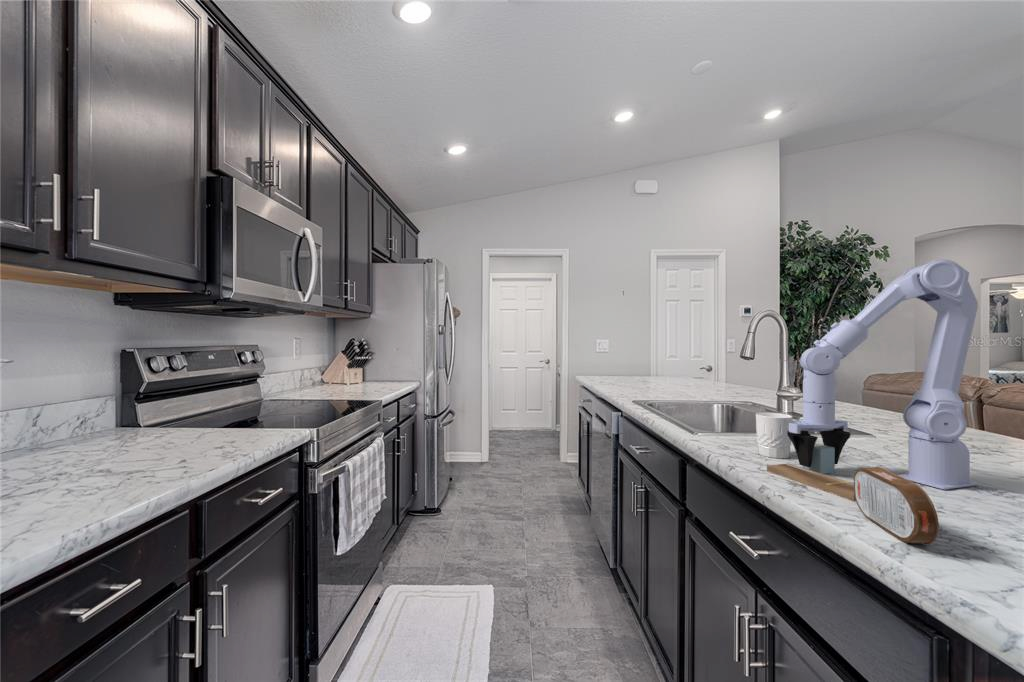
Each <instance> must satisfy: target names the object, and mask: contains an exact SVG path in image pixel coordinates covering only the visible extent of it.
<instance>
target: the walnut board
mask: <svg viewBox="0 0 1024 682" xmlns="http://www.w3.org/2000/svg"><path fill="white" fill-rule="evenodd" d="M766 471H767V472H768V471H769V473H771V472H772V474H774V473H776V474H775V475H777V474H779V475H778V476H780V475H782V476H781V477H783V476H785V477H784V478H786V477H788V478H787V479H789V478H790V479H789V480H792V479H793V480H792V481H794V480H796V481H795V482H797V481H798V482H797V483H801V484H803V485H807V486H810V487H812V486H813V488H815V487H816V488H815V489H818V488H819V489H818V490H821V489H822V490H821V491H824V490H825V491H824V492H827V491H828V492H827V493H830V492H831V493H830V494H832V493H834V494H833V495H835V494H837V495H836V496H838V495H839V497H841V496H842V497H841V498H844V497H845V499H847V498H848V500H851V501H853V502H856V500H855V495H854V482H850V481H847V480H844V479H840V478H838V477H834V476H831V475H829V474H821V473H818V472H815V471H811V470H808V469H805V468H803V466H802V467H801V466H799V465H796V464H795V465H794V464H792V463H791V464H790V463H780V464H778V463H777V464H769V465H766Z"/></svg>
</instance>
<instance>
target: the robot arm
mask: <svg viewBox="0 0 1024 682" xmlns="http://www.w3.org/2000/svg"><path fill="white" fill-rule="evenodd" d="M969 276H970V272H969V270H966V269H965V268H963V266H961V265H960V264H959V263H957V262H955V261H954V260H950V259H947V258H946V259H944V258H943V259H942V258H940V259H935V260H932V261H930V262H927V263H925V264H923V265H918V266H915V267H911V268H908V269H907V270H906V271H904V272H903V274H902V275H900V276H898V277H896V278H895V279H893V280H892V281H891V282H890V283H889V284H888V285H886V287H884V289H883V290H882V291H881V292H880V293H878V295H876V296H875V297H874V298H873V299H872V300H871V301H870V302H869V303H868V304H867V305H865V307H864V308H863V309H862V310H861V311H860V312H859V313H857V315H856V316H855V317H854V318H852V319H842V320H841V321H839V322H833V324H831V325H830V328H831V329H830V330H829V331H828V332H827V333H826V334H825V335H824V336H823V337H821V339H816V340H815V341H814V342H813V344H814V346H815V347H810V348H808V349H806V350H805V351H803V353H802V354H801V357H800V359H799V364H800V367H801V368H802V369H803V380H802V418H799V419H798V421H795V422H792V423H789V431H787V435H788V437H789V438H790V440H791V444H792V445H793V447H794V450H795V453H796V456H797V459H798V463H799V465H800V466H802V467H803V466H806V467H811V464H812V455H813V449H814V445H815V443H816V442H817V440H818V439H819V438H818V436H816V435H815V436H814V435H811V433H812V432H813V433H814V432H819V434H820V436H821V439H822V445H826V446H830V447H834V448H835V465H838V462H839V460H840V456H841V453H842V451H843V448H844V446H845V444H846V443H847V442H848V441H849V439H850V438H851V432H849V431H848V429H849V428H848V427H849V425H848V421H846V420H843V419H842V420H840V419H836V382H835V376H836V375H835V371H836V370H838V369H839V367H840V364H841V360H844V359H845V358H846V357H847V356H848V355H849V354H851V353H852V352H853V351H855V350H856V349H857V348H858V347H859V346H860V345H861V344H862V343H863V342H864V341H866V340H867V339H868V338H869V337H868V335H869V334H868V333H869V332H868V331H869V330H868V329H870V327H872V326H873V325H874V324H876V323H877V322H879V320H881V318H883V317H884V316H885V315H886V314H888V313H889V312H890V311H891V310H893V309H894V308H896V307H897V306H898V305H899V304H900V303H902V302H903V301H907V300H911V299H914V298H916V299H918V300H920V301H923V302H925V303H926V304H927V305H928V306H930V308H932V309H933V310H935V311H936V312H937V314H936V319H935V323H934V328H933V332H932V337H931V342H930V346H929V350H928V354H927V359H926V365H925V367H924V372H923V376H922V382H921V385H920V388H919V389H917V391H916V392H915V393H913V395H912V398H911V401H910V402H909V404H908V405H907V406H906V407H905V408H904V411H903V414H902V419H903V421H904V423H905V424H906V425H907V426H908V428H909V431H908V460H907V461H908V473H904V474H903V473H902V474H897V475H898V476H900V477H903V478H905V479H907V480H909V481H911V482H914V483H916V484H917V483H918V484H922V485H925V486H929V487H933V488H937V489H940V490H951V489H959V488H966V487H972V486H977V483H976V482H973V481H970V478H971V477H970V476H971V475H970V473H971V472H970V471H971V470H970V469H971V465H970V464H971V462H970V461H971V460H970V458H971V454H970V450H969V448H968V446H967V445H966V444H965V443H964V442H963V441H961V440H960V439H959V438H961V436H962V435H964V433H966V430H967V426H968V424H967V421H966V420H967V419H966V418H965V415H964V410H965V404H964V402H963V400H962V399H961V397H960V395H959V391H960V390H959V389H960V385H961V381H962V378H963V374H964V368H965V364H966V360H967V356H968V352H969V351H968V350H969V347H970V342H971V339H972V333H973V329H974V325H975V322H976V321H975V320H976V316H977V313H978V308H979V307H978V305H979V304H978V303H979V302H978V299H977V298H976V296H975V293H974V291H973V289H972V286H971V284H970V282H969Z"/></svg>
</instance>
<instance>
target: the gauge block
mask: <svg viewBox="0 0 1024 682" xmlns="http://www.w3.org/2000/svg"><path fill="white" fill-rule="evenodd" d="M835 465H836V464H835V448H834V447H830V446H826V445H824V444H821V443H815V445H814V449H813V455H812V464H811V467H806V466H802V468H805V469H808V470H811V471H815V472H818V473H821V474H825V475H828V474H827V473H831V474H835V471H836V470H835V469H836V468H835V467H836V466H835Z"/></svg>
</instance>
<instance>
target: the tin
mask: <svg viewBox="0 0 1024 682" xmlns="http://www.w3.org/2000/svg"><path fill="white" fill-rule="evenodd" d="M898 475H899V474H896V473H894V472H891V471H890V470H888V469H885V468H883V467H881V466H875V467H860V468H858V469H856V470H855V471H854V473H853V476H852V479H853V483H854V495H855V500H856V501H855V502H856V505H857V506H858V507H857V508H858V509H859V510H860V512H861V513H862V514H863V516H864V517H865V518H867V519H868V520H869V521H870V522H871V523H874V525H876V526H878V527H879V528H880V529H883V530H884V531H885V532H887V533H889V534H890V535H891V536H893V537H895V538H896V539H897V540H899V541H900V540H901V541H900V542H902V543H907V544H921V545H930V544H932V543H934V542H935V541H936V540H937V538H938V536H939V530H940V527H939V526H940V523H939V518H938V512H937V510H936V508H935V505H934V504H933V501H932V499H931V498H930V496H929V495H928V494H927V492H926V491H925V490H924V489H923V488H922V487H921V486H920V485H919V484H917V483H916V482H914V481H910V480H907V479H905V478H903V477H900V476H898Z"/></svg>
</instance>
